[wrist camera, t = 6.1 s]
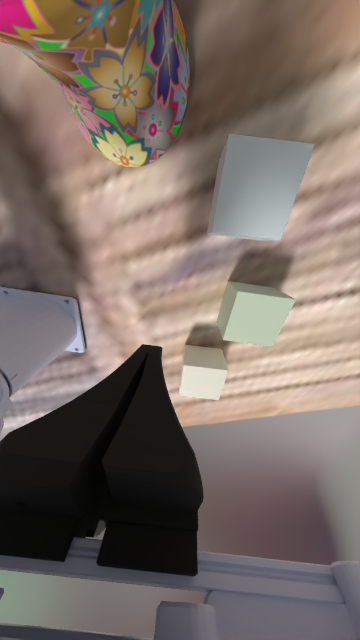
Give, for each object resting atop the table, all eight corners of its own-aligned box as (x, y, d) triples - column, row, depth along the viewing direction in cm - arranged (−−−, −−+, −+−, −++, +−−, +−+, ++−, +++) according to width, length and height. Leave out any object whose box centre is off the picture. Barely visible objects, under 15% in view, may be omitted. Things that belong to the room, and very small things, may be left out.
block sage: (216, 321, 19) (222, 339, 15) (227, 280, 17) (237, 291, 13) (256, 326, 19) (272, 346, 15) (273, 287, 17) (295, 299, 13)
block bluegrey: (206, 234, 15) (212, 231, 11) (218, 164, 13) (229, 133, 9) (258, 240, 15) (280, 240, 11) (279, 171, 13) (314, 143, 9)
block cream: (180, 371, 23) (178, 395, 19) (184, 343, 21) (183, 365, 17) (213, 375, 23) (218, 399, 19) (221, 348, 21) (228, 370, 17)
